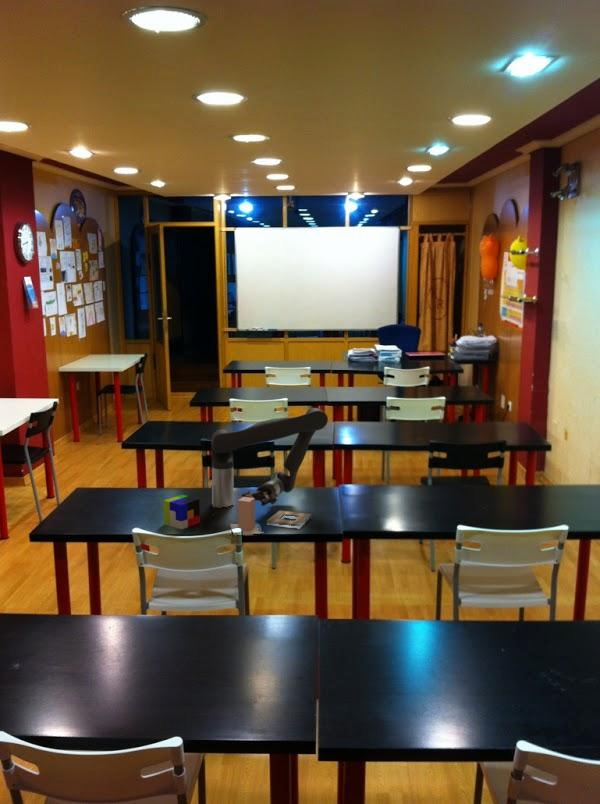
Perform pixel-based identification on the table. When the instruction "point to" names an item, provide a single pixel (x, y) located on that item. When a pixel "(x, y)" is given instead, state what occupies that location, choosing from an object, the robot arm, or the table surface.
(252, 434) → the robot arm
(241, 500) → the terracotta block
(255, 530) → the grey pad
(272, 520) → the puzzle board
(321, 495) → the table surface
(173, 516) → the puzzle toy
